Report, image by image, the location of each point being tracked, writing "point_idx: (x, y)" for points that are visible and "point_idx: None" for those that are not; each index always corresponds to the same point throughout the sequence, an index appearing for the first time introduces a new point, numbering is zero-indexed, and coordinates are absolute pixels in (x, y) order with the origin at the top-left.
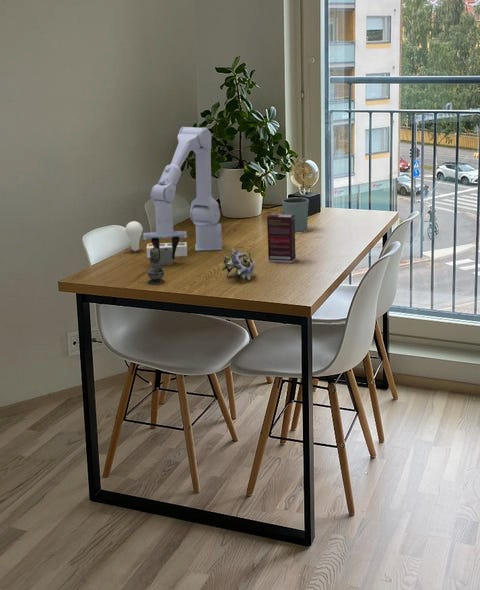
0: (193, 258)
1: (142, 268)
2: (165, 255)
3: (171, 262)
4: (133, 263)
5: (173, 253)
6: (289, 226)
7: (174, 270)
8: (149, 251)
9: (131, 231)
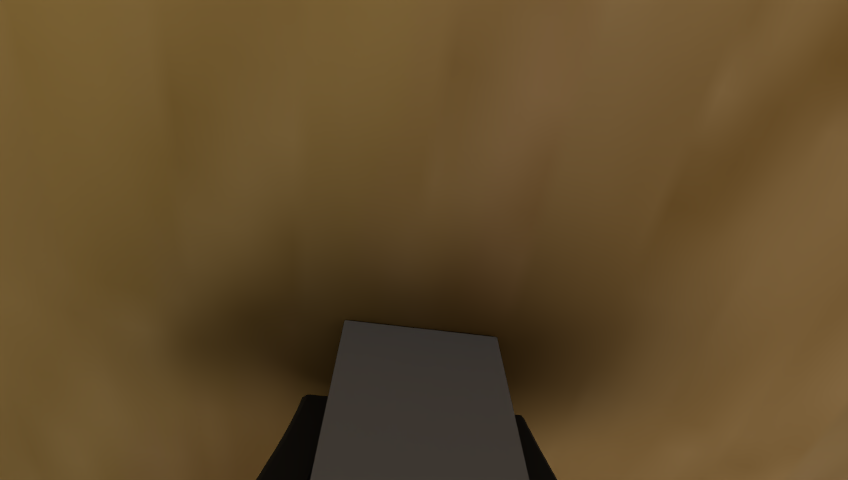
0: (107, 469)
1: (758, 286)
2: (435, 448)
3: (354, 344)
4: (742, 467)
5: (287, 472)
6: None
7: (334, 22)
8: None
9: None
